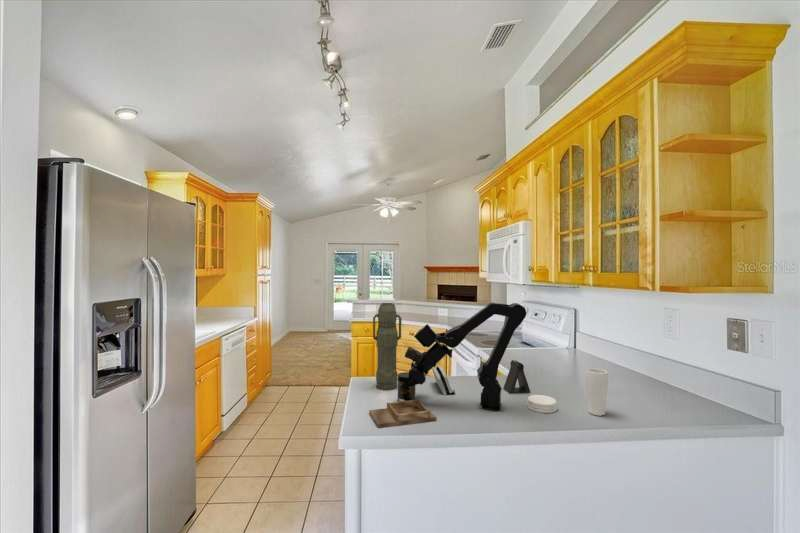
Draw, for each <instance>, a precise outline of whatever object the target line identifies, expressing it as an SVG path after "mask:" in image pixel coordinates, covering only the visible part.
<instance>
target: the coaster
mask: <svg viewBox="0 0 800 533" xmlns="http://www.w3.org/2000/svg"><path fill="white" fill-rule="evenodd" d="M526 403H527V405H526V407H527V408H528V409H529V410H530V411H533V412H536V413H541V414H552V413H556V412H557V406H558V405H557V400H556V399H555V398H553V397H551V396H548V395H544V394H542V395H541V394H531V395H529V396H528V397H527V401H526Z"/></svg>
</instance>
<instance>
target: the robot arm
mask: <svg viewBox="0 0 800 533" xmlns="http://www.w3.org/2000/svg"><path fill="white" fill-rule="evenodd" d="M494 315H498V316H502V317H504V322H503V325H502V328H501V331H500V332H499V335H498V337H497V339H496V342H495V343H494V346H493V348H492V350H491V352H490V354H489V357H488V359H487V360H486V361H485V362H484V361H481V360H480V364H479V367H478V368H477V370H476V371H477V379H478V382H479V385H481V387H483V388H482V390H481V393H480V405H481V406H480V408H481V409H484V410H493V411H498V412H499V411H500V410H501V408H502V406H503V405H502V387H501V384H500V382H499V380H498V379H497V378H498V377H497V376H498V372H499V365H500V364H501V361H502V359H503V357H504V355H505V352H506V350H507V348H508V345H509V344H510V342H511V339H512V338H513V335H514V333H515V331H516V330H517V328H519V327H520V325H521V324H522V323H523V321H524V320H525V319H526V317H527V310H526V308H525V306H523V305H521V304H520V303H517V302H513V303H511V304H506V303H497V302H496V303H495V302H492V301H491V302H488V303H487V305H486V306H484V307H483V308H482V309H480V310H479V311H478V312H476V313H475V314H473V315H472V316H471V317H469V318H468V319H467V320H465V321H464V322H462V323H461V324H458V325H456V326H454V327H452V328H449V329H448V330H446V331H445V332H438V333H436V332H435V330H433V329H432V328H431V326H430V325H429V324H427V323H426V325H424V326H423V327H421V328H420V329H419V330H418V331H417V332H416V333H414V335H413V337H414V338H415V339H416V341H418V343H419V344H421V346H422V347H424V348H428V349H427V351H423V352H421V351H419V350H417V349H415V348H412V347H411V346H408V347H407V349H406V352H405V354H404V358H405V359H410V360H411V364H410V369H409V370H408V372H409V376H408V378H407V379H406V380H405V382H404V383H403V385H402V386H401V388H402V389H404V388H407V387H411V386H414V385H416V386H417V385H421V386H422V385H423V384H425V382H426V379H427V378H426V377H427V376H426V375H428V374H429V371H430V370H432V369H433V368H434V367H435V368H436V367H437V364H438V363H439V362H440V361H441V360H442V359H444V357H446V356H448V357H449V358H452V357H453V349H454V348H456V347H458V346H459V345H460V344H461V342H463V341H464V340H465V338H466V337H467V336H468V334H470V333H471V332H472V331H473V330H475V329H476V328H478V327H479V326H481V325H482V324H484V323H485V322H486V321H488V320H489V319H490V318H492V316H494Z"/></svg>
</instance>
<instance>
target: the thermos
mask: <svg viewBox="0 0 800 533" xmlns="http://www.w3.org/2000/svg"><path fill="white" fill-rule="evenodd" d="M376 318H377V322H378V326H377V330H376ZM397 318H398V330H397ZM402 319H403V318H402V317H401V316H400V314H397V308H396V305H395V304H394V303H392V302H383V303H381V304H379V306H378V310H377V314H374V316H373V318H372V320H373V321H372V338H373V340H375V341H376V346H377V366H376V367H377V368H376V373H375V381H376V389H378V390H380V391H393V390H395V388H396V389H398V374H399V373H398V371H397V347H398V344H399V342H398V341H399V340H401V339H402V321H403V320H402Z"/></svg>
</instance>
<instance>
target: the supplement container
mask: <svg viewBox="0 0 800 533" xmlns="http://www.w3.org/2000/svg"><path fill="white" fill-rule="evenodd" d="M397 374H398V375H397V402H400V401H409V400H416V386H417V385H414V386H411V387H407V388H404V389H402V388H401V386H402V385H403V383H404V382H405V380H406V379H407V378H408V376H409V371H408V372H407V371H406V372H399V373H397Z"/></svg>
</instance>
